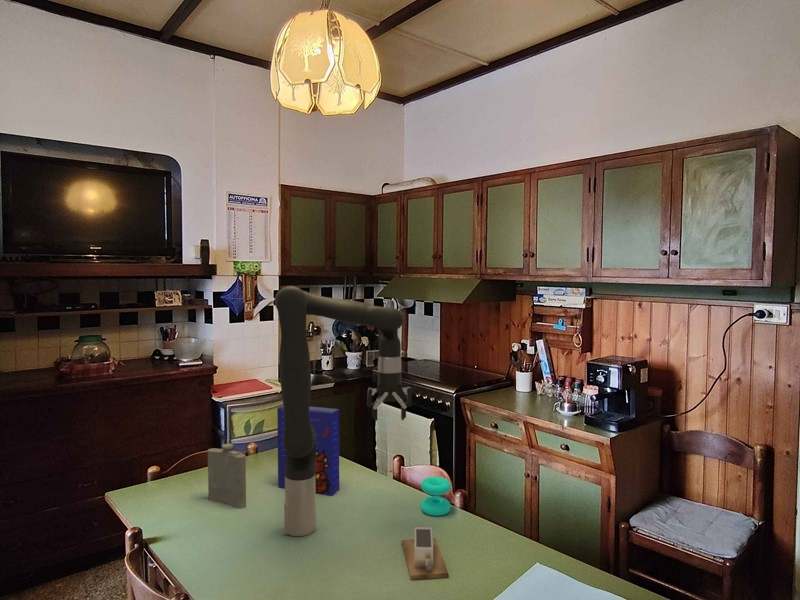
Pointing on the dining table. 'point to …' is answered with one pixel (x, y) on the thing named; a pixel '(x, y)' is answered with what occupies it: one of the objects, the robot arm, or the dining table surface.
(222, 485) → the hip flask
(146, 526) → the dining table surface
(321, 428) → the cereal box
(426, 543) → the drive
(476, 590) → the dining table surface
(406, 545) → the pin tray
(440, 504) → the donuts
